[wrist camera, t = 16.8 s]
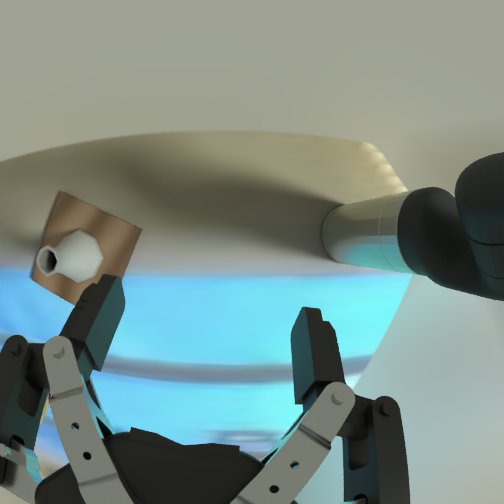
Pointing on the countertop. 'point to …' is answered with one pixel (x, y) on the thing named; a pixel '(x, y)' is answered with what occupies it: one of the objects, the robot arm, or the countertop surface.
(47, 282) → the walnut board
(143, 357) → the countertop surface
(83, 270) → the flask
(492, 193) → the robot arm
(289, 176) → the countertop surface
